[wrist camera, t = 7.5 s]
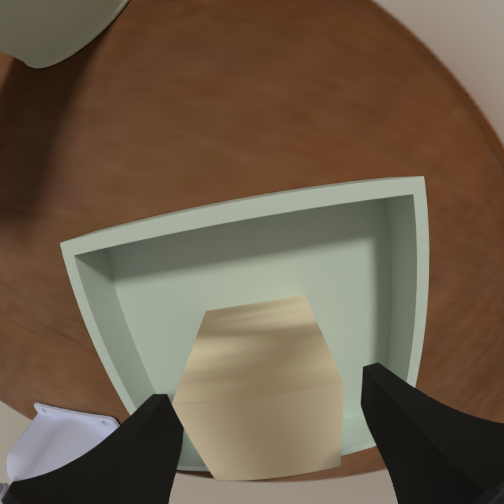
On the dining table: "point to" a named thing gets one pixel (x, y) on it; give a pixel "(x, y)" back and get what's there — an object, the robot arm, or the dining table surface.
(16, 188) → the dining table surface
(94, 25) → the can
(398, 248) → the bin
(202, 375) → the birch block
